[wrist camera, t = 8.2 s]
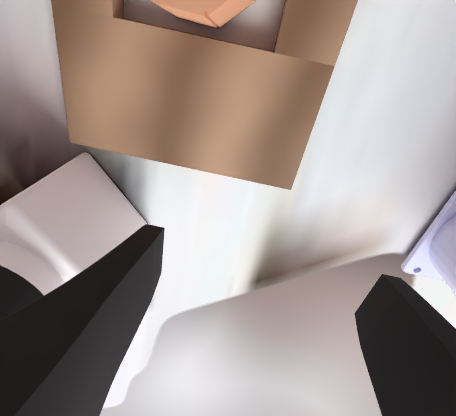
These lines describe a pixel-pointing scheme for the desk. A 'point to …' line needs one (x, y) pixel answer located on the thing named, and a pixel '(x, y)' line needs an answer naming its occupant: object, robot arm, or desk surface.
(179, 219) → the desk surface
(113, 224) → the medicine bottle
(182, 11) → the hollow octagonal tube
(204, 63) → the wooden u-shaped block
